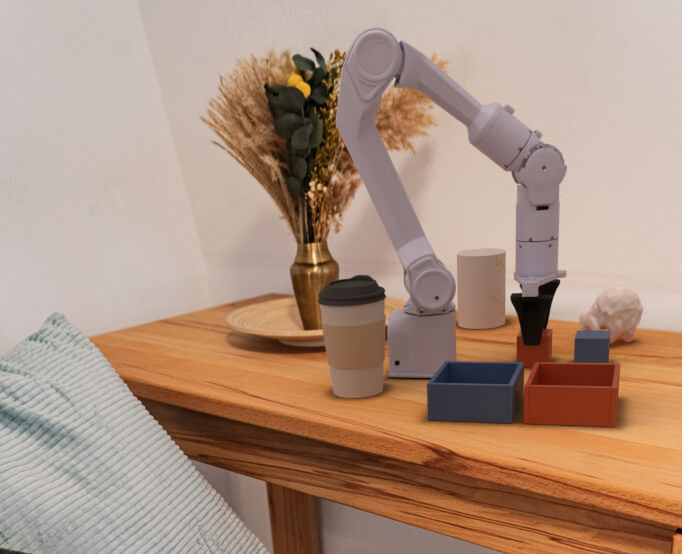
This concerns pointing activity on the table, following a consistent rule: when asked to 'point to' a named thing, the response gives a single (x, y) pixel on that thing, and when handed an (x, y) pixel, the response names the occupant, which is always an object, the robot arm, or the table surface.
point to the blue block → (592, 347)
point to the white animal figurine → (613, 313)
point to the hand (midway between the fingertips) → (535, 338)
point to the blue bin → (476, 391)
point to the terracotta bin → (572, 394)
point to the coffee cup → (354, 335)
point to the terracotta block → (535, 350)
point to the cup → (481, 288)
